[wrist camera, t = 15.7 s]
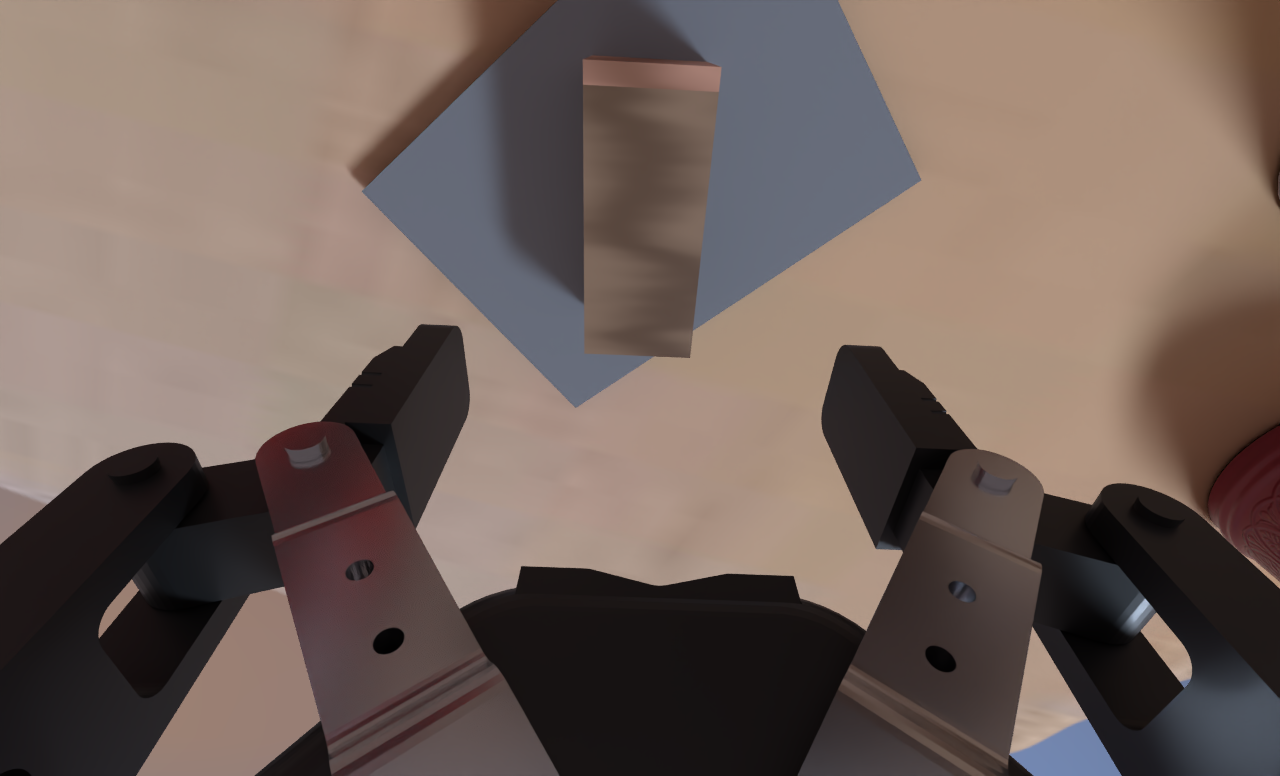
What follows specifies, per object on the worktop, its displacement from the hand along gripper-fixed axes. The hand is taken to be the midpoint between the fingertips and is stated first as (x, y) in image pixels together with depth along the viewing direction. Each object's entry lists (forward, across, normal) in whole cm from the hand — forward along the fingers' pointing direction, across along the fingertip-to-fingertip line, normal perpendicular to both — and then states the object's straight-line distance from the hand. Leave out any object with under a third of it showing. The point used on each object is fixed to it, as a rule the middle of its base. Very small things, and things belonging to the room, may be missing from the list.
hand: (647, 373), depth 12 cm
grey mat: (+19, 0, 0) cm, 19 cm away
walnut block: (+15, 0, +7) cm, 17 cm away
